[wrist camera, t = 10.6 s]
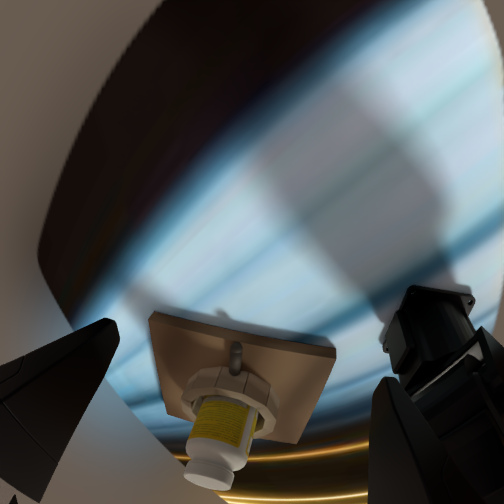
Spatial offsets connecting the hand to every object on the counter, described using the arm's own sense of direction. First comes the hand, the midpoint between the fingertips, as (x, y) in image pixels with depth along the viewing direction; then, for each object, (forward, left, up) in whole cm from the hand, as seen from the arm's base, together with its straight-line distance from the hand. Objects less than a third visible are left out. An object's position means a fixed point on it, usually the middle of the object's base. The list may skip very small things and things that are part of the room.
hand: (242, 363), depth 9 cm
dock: (+2, +18, -12) cm, 22 cm away
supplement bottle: (+2, +18, -11) cm, 21 cm away
